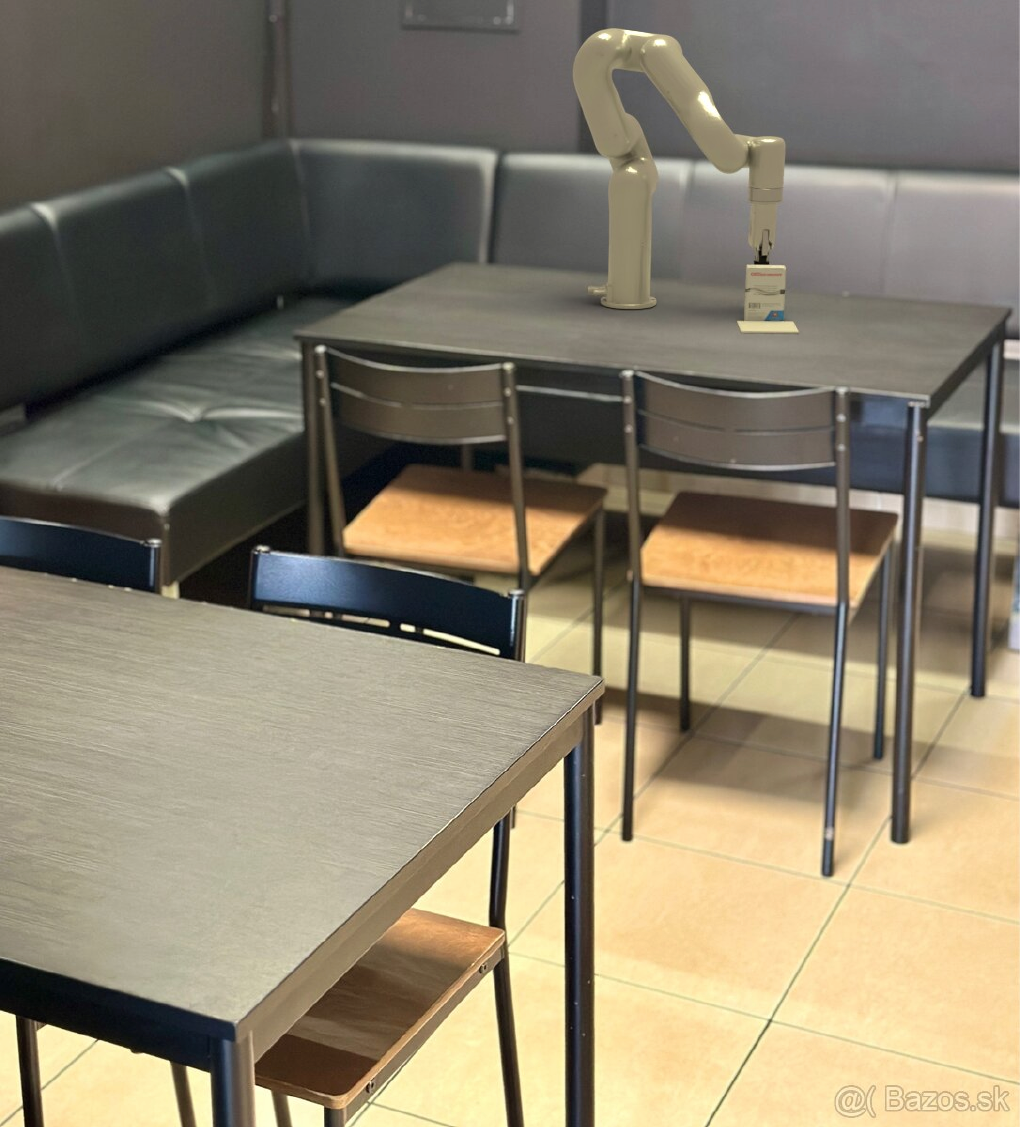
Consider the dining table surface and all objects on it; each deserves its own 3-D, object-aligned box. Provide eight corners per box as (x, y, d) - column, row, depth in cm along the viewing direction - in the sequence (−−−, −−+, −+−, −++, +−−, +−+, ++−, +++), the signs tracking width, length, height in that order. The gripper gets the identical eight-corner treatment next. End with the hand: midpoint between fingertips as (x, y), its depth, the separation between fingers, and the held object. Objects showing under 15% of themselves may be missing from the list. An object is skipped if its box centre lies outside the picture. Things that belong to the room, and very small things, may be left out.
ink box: (782, 317, 349) (785, 264, 345) (783, 322, 344) (787, 268, 340) (743, 317, 350) (745, 263, 345) (744, 321, 345) (746, 267, 341)
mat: (741, 333, 335) (741, 331, 334) (737, 322, 344) (737, 321, 344) (798, 333, 334) (798, 331, 334) (792, 323, 343) (793, 321, 343)
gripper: (744, 190, 354) (740, 272, 360) (751, 200, 340) (747, 285, 346) (778, 190, 354) (773, 273, 360) (786, 200, 340) (781, 285, 346)
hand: (760, 278), depth 353 cm, fingers closed
